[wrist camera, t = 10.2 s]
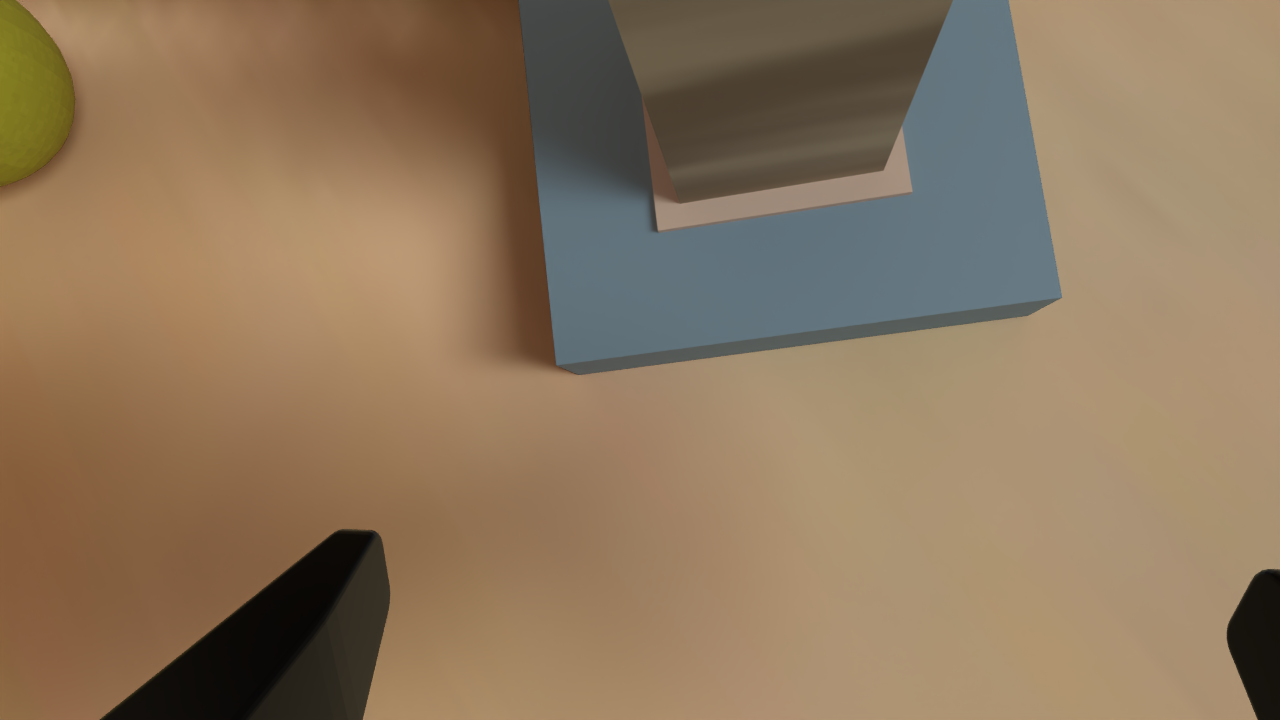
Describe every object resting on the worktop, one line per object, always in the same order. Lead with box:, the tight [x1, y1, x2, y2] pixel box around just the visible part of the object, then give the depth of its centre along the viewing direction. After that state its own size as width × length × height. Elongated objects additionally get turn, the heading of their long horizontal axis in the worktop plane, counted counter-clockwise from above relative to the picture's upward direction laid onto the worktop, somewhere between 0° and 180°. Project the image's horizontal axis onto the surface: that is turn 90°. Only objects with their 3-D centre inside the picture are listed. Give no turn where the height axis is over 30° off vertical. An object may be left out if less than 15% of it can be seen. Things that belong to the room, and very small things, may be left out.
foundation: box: [518, 0, 1062, 375], centre depth 20 cm, size 11×11×3 cm
